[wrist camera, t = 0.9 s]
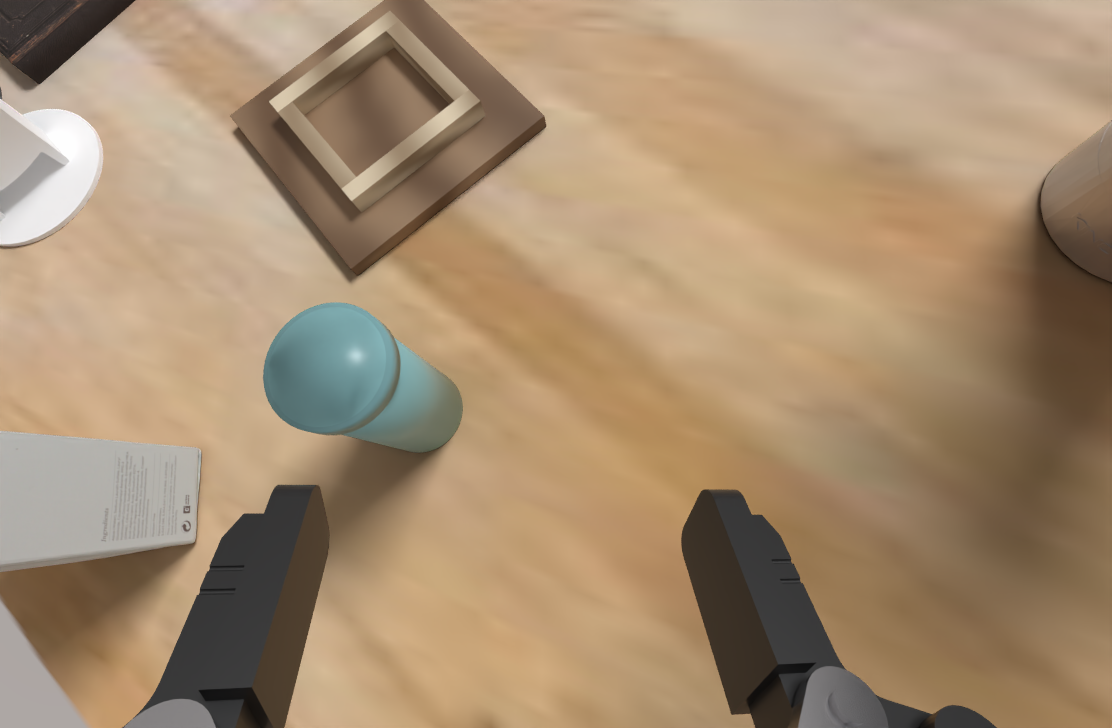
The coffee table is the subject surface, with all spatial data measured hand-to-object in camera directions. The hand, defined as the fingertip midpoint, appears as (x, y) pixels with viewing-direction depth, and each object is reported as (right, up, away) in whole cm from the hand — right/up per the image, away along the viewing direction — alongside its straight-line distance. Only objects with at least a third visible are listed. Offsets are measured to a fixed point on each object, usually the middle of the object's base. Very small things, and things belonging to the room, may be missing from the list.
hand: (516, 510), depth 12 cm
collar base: (-11, +20, +26) cm, 35 cm away
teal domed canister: (-7, 0, +21) cm, 22 cm away
